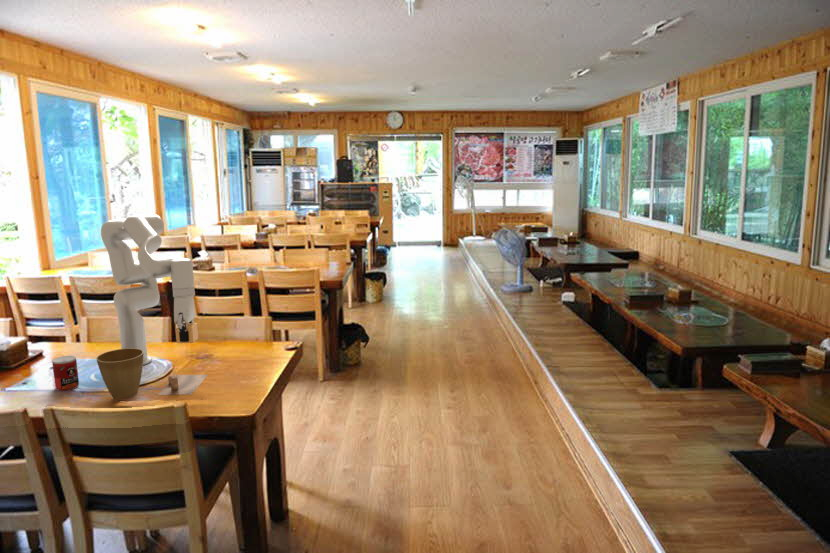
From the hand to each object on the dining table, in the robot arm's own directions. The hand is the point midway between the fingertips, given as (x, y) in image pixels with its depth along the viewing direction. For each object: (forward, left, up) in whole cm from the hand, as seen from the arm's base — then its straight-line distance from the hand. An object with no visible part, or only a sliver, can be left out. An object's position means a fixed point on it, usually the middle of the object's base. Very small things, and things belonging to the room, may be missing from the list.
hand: (187, 338), depth 221 cm
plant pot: (-19, -13, -18) cm, 29 cm away
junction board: (-1, -5, -18) cm, 18 cm away
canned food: (-45, -1, -18) cm, 48 cm away
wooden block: (0, 0, -1) cm, 1 cm away
